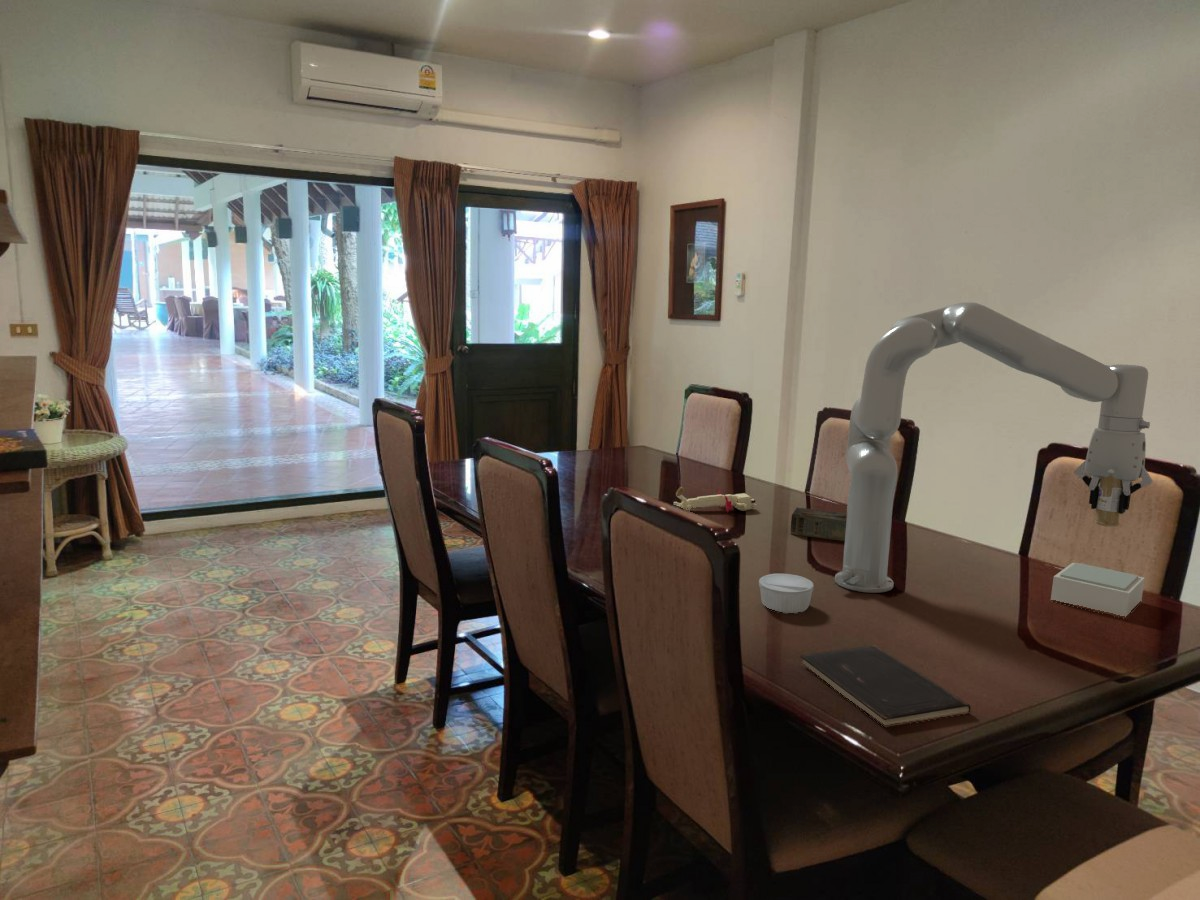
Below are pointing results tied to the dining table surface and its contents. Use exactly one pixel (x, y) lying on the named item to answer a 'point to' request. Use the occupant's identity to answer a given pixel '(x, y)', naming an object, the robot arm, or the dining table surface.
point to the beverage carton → (819, 524)
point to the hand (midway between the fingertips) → (1108, 509)
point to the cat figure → (716, 501)
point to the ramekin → (786, 592)
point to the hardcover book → (883, 685)
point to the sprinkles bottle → (1108, 501)
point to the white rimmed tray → (1098, 588)
